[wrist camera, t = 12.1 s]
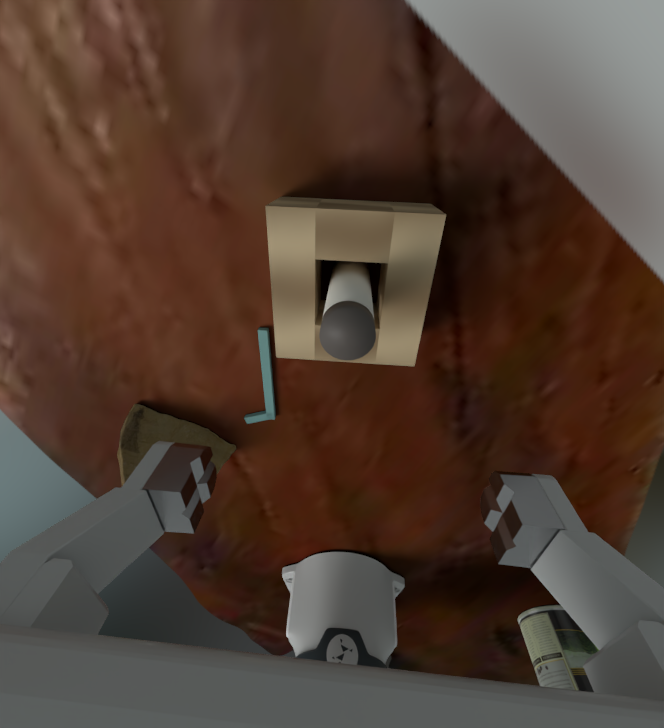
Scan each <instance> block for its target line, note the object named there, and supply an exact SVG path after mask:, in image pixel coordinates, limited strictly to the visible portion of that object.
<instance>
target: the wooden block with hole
mask: <svg viewBox="0 0 664 728" xmlns="http://www.w3.org/2000/svg"><path fill="white" fill-rule="evenodd" d="M266 219H267V234H268V248H269V262H270V276H271V290H272V305H273V319H274V333H275V347H276V357H278V358H293V359H309V360H324V361H339V362H355V363H370V364H385V365H401V366H415V361H416V356H417V351H418V347H419V342H420V337H421V332H422V328H423V323H424V318H425V314H426V309H427V304H428V299H429V295H430V290H431V285H432V280H433V276H434V271H435V266H436V262H437V257H438V252H439V247H440V243H441V238H442V233H443V228H444V224H445V219H446V214H445V213H443V212H442V211H440V210H439V209H438V208H436V207H435V206H433V205H432V204H425V203H404V202H383V201H362V200H341V199H320V198H299V197H280V198H278V199H276V200H275V201H273V202H271V203H270V204H268V205H266ZM322 260H335V261H354V262H372V263H381V269H380V277H379V286H378V294H377V303H373V312H374V321H375V331H376V340H375V343H374V346H373V348H372V349H371V350H370V351H369V352H368V353H367V354H366V355H365V356H363V357H361V358H359V359H356V360H340V359H337V358H335V357H333V356H331V355H329V354H328V353H327V352H326V351H325V350H324V348H323V347H322V345H321V342H320V338H319V333H320V327H321V323H322V318H323V313H324V308H325V303H326V300H321V267H322Z"/></svg>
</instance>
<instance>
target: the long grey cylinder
mask: <svg viewBox="0 0 664 728" xmlns="http://www.w3.org/2000/svg"><path fill="white" fill-rule="evenodd" d="M319 338H320V342H321V345H322V347H323V348H324V350H325V351H326V352H327V353H328V354H329V355H331V356H333V357H335V358H337V359H340V360H356V359H359V358H361V357H363V356H365V355H366V354H367V353H368V352H369V351H370V350H371V349H372V348H373V346H374V343H375V340H376V331H375V321H374V312H373V302H372V293H371V284H370V274H369V267H368V265H367V263H366V262H354V261H336V262H335V264H334V266H333V269H332V274H331V279H330V284H329V289H328V293H327V298H326V303H325V308H324V313H323V318H322V323H321V327H320V333H319Z"/></svg>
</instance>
